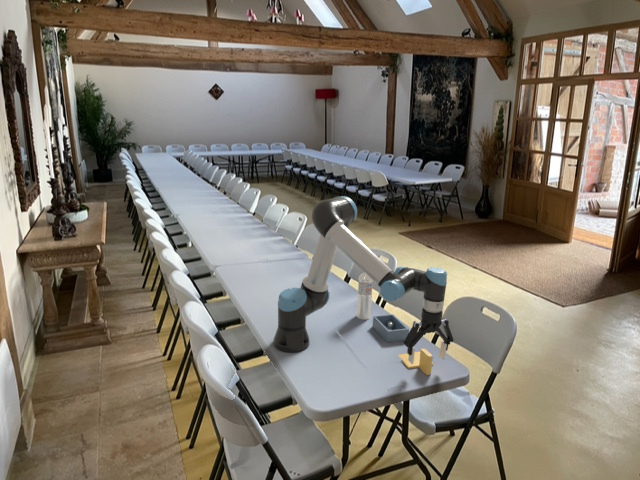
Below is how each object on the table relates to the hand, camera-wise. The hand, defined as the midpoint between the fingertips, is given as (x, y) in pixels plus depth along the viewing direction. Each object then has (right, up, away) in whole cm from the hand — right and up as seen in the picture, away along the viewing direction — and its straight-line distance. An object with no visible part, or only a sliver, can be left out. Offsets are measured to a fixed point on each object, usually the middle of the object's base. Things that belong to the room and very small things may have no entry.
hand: (426, 360), depth 181 cm
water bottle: (-20, +8, +47) cm, 52 cm away
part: (-9, +5, +35) cm, 37 cm away
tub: (-10, +3, +31) cm, 33 cm away
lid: (-3, -3, +10) cm, 11 cm away
